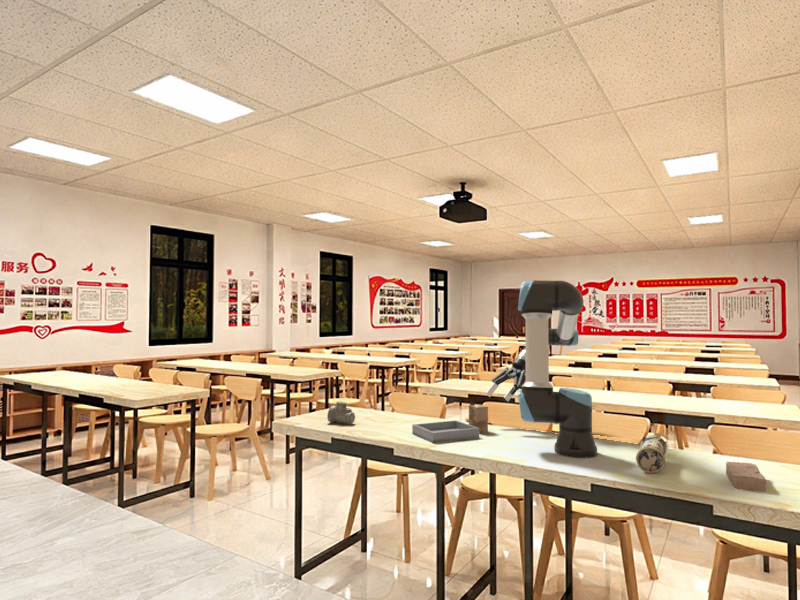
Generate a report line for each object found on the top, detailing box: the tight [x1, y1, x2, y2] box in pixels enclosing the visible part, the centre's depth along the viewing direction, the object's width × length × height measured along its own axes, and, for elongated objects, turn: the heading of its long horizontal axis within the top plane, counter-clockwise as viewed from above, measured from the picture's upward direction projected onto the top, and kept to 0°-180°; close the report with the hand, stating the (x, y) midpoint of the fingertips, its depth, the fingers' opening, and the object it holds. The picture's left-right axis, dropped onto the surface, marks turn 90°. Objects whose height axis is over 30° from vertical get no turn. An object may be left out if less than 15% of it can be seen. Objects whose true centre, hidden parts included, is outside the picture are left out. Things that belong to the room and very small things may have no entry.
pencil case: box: [635, 432, 668, 474], centre depth 179 cm, size 22×8×10 cm, turn 152°
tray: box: [411, 420, 480, 444], centre depth 224 cm, size 18×22×4 cm
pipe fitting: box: [326, 400, 356, 426], centre depth 248 cm, size 12×8×10 cm
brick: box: [725, 461, 767, 493], centre depth 163 cm, size 16×8×5 cm, turn 156°
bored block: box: [468, 404, 489, 434], centre depth 233 cm, size 6×6×11 cm
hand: (496, 397), depth 238 cm, fingers open, 13 cm apart
